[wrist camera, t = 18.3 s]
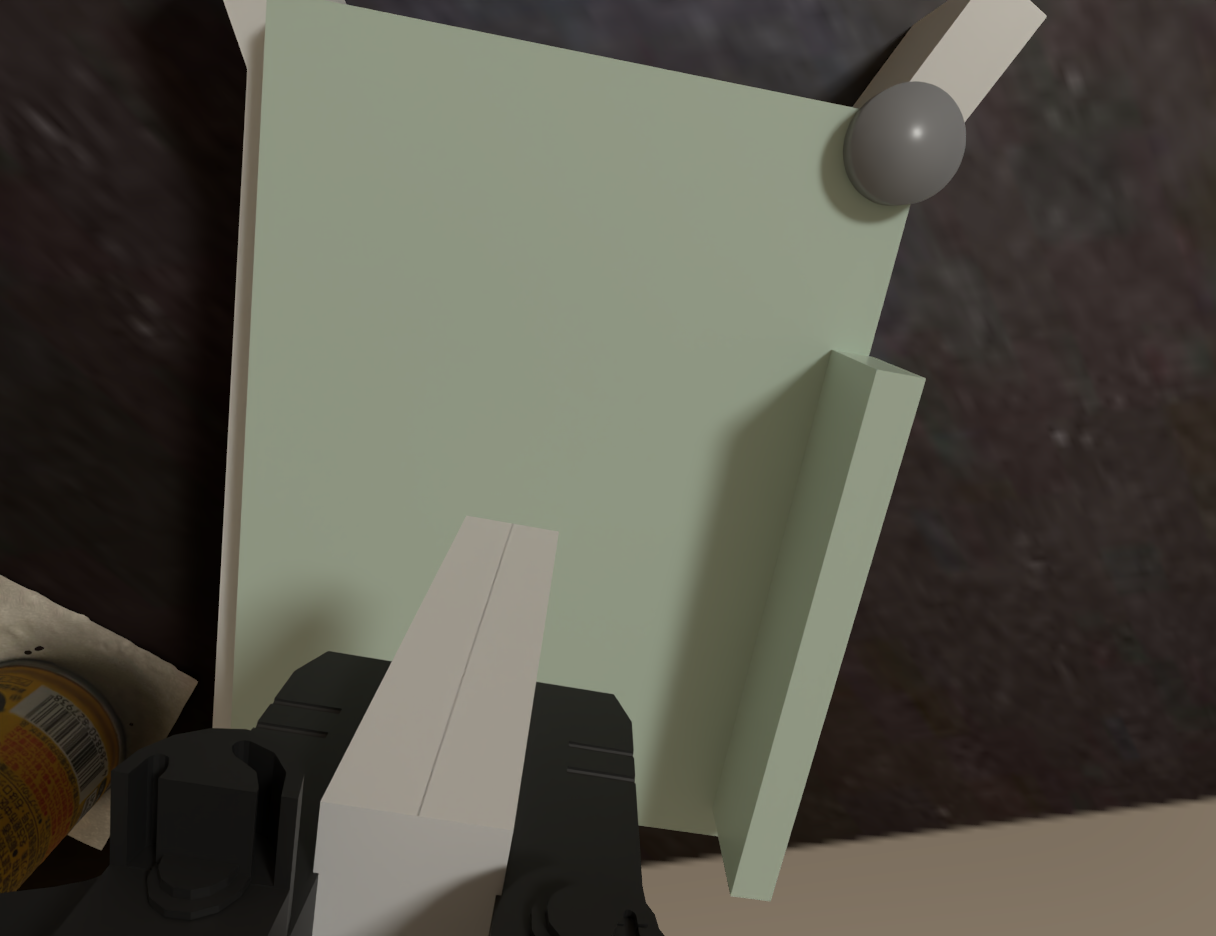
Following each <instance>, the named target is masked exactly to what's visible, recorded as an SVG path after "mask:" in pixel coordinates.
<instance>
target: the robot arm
mask: <svg viewBox="0 0 1216 936" xmlns="http://www.w3.org/2000/svg"><path fill="white" fill-rule="evenodd" d="M558 535H559V531H553V530H547V529H541V528H536V527H530V526H524V525H518V524H513V523H507V522H501V521H495V520H490V519H484V518H478V517H472V516H467V515H466V517H465V519H464V521H463V523H462V525H461V527H460V529H459V531H458V533H457V535H456V537H455V539H454V541H453V543H452V545H451V547H450V549H449V551H448V553H447V554H446V556H445V558H444V560H443V562H442V564H441V566H440V568H439V570H438V572H437V574H436V576H435V578H434V580H433V582H432V584H431V586H430V588H429V590H428V592H427V594H426V596H425V598H424V600H423V602H422V603H421V605H420V607H419V609H418V611H417V613H416V615H415V617H414V619H413V621H412V623H411V625H410V627H409V629H408V631H407V633H406V635H405V637H404V639H403V641H402V643H401V645H400V647H399V649H398V650H397V652H396V654H395V656H394V658H393V660H392V661H387V660H381V659H375V658H369V657H363V656H356V655H350V654H344V653H338V652H332V651H327V652H325V653H324V654H322V655H320V656H319V657H317V658H315V659H314V660H312V661H310V662H309V663H307V664H305V665H303V666H302V667H300V668H298V669H297V670H295V671H294V672H293V673H292V675H291V676H290V678H289V679H288V680H287V682H286V683H285V684H284V686H283V687H282V688H281V690H280V691H279V693H278V694H277V695H276V697H275V698H274V702H273V704H270V705H269V706H268V708H267V709H266V710H265V712H264V713H263V714H262V716H261V717H260V719H259V720H258V722H257V726H256V728H254V727H253V728H252V730H248V729H226V728H209V729H203V730H198V731H192V732H187V733H182V734H176V735H172V736H170V737H168V738H165V739H163V740H161V741H158V742H156V743H153V744H151V745H149V746H146V747H144V748H141V749H139V750H138V751H136V752H135V753H134V754H132V755H131V756H130V757H128V758H127V759H126V760H124V761H123V762H122V763H121V764H119V765H118V766H117V767H115V768H114V769H113V770H111V798H110V865H109V866H108V867H107V869H106V870H105V871H104V872H103V874H102V875H101V876H99V877H96V878H93V879H90V880H87V881H82V882H77V883H72V884H66V885H61V886H56V887H49V888H40V889H31V890H23V891H14V892H5V893H0V936H664V935H663V933H662V932H661V931H660V930H659V928H658V924H657V921H656V918H655V914H654V913H653V912H652V910H651V909H650V908H649V906H648V905H647V904H646V902H645V897H644V892H643V887H642V875H641V858H640V842H639V826H638V811H637V795H636V783H635V763H634V757H633V753H634V748H633V732H632V721H631V720H630V718H629V717H628V715H627V714H626V712H625V711H624V709H623V707H622V706H621V704H620V703H619V701H618V700H617V698H616V697H615V695H614V694H609V693H603V692H597V691H591V690H585V689H578V688H572V687H566V686H560V685H554V684H548V683H541V682H536V679H537V673H538V666H539V660H540V653H541V647H542V640H543V633H544V627H545V620H546V614H547V607H548V601H549V594H550V587H551V581H552V574H553V568H554V561H555V555H556V548H557V542H558Z"/></svg>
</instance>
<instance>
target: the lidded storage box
mask: <svg viewBox="0 0 1216 936" xmlns="http://www.w3.org/2000/svg"><path fill="white" fill-rule="evenodd" d="M223 1H224V4H225V7H226V10H227V13H228V16H229V18H230V21H231V24H232V27H233V30H234V33H235V36H236V38H237V41H238V44H239V47H240V50H241V53H242V56H243V58H244V61H245V64H246V67H247V85H246V104H245V123H244V142H243V161H242V180H241V199H240V217H239V236H238V255H237V274H236V293H235V312H234V331H233V350H232V369H231V388H230V407H229V426H228V444H227V463H226V482H225V501H224V520H223V539H222V558H221V577H220V596H219V615H218V634H217V653H216V672H215V690H214V709H213V728H226V729H231V711H232V691H233V671H234V650H235V630H236V610H237V590H238V569H239V549H240V529H241V509H242V488H243V468H244V448H245V428H246V407H247V387H248V367H249V347H250V326H251V306H252V286H253V266H254V245H255V225H256V205H257V185H258V164H259V144H260V124H261V104H262V83H263V63H264V43H265V23H266V2H267V0H223ZM326 1H331V2H336V3H341V4H346V2H345V0H326ZM1046 17H1047V16H1046V15H1045V14H1044V13H1043V12H1042V11H1041V10H1040V9H1039V8H1038V7H1036V6H1035V5H1034V4H1033V3H1032V2H1031V1H1030V0H948V1H947V2H945V3H944V4H942V5H941V6H940V7H938V8H937V9H935V10H934V11H932V12H931V13H929V14H928V15H927V16H925V17H924V18H922V19H921V20H919V21H918V22H917V23H915V24H914V25H913V26H912V27H911V28H910V30H909V31H908V32H907V34H906V35H905V36H904V38H903V39H902V40H901V42H900V43H899V44H898V46H897V47H896V49H895V50H894V51H893V53H892V54H891V55H890V57H889V58H888V59H887V61H886V62H885V63H884V65H883V66H882V68H881V69H880V70H879V72H878V73H877V74H876V76H875V77H874V78H873V80H872V81H871V82H870V84H869V85H868V86H867V88H866V89H865V91H864V92H863V93H862V95H861V96H860V97H859V99H858V100H857V101H856V103H855V104H854V105H853V108H858V109H860V108H861V107H862V106H863V105H864V104H865V103H866V102H867V101H868V100H869V99H871V98H872V97H874V96H875V95H877V94H879V93H880V92H882V91H884V90H886V89H888V88H890V87H892V86H894V85H897V84H900V83H905V82H914V81H919V82H926V83H929V84H933V85H935V86H937V87H939V88H941V89H942V90H944V91H945V92H946V93H948V94H949V95H950V96H951V97H952V98H953V100H954V101H955V102H956V104H957V105H958V107H959V109H960V111H961V113H962V115H963V119H964V122H965V121H966V120H967V118H968V117H969V116H970V115H971V113H972V112H973V111H974V110H975V108H976V107H977V106H978V104H979V103H980V102H981V101H982V99H983V98H984V97H985V95H986V94H987V93H988V92H989V90H990V89H991V88H992V86H993V85H994V84H995V83H996V81H997V80H998V79H999V77H1000V76H1001V75H1002V74H1003V72H1004V71H1005V70H1006V68H1007V67H1008V66H1009V65H1010V63H1011V62H1012V61H1013V59H1014V58H1015V57H1016V56H1017V54H1018V53H1019V52H1020V50H1021V49H1022V48H1023V47H1024V45H1025V44H1026V43H1027V41H1028V40H1029V39H1030V38H1031V36H1032V35H1033V34H1034V32H1035V31H1036V30H1037V29H1038V27H1039V26H1040V25H1041V23H1042V22H1043V21H1044V20H1045V18H1046Z"/></svg>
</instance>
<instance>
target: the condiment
mask: <svg viewBox="0 0 1216 936" xmlns="http://www.w3.org/2000/svg"><path fill="white" fill-rule="evenodd" d="M37 646H42V647H44V649H43V650H41V651H35V650H34V648H35V647H37ZM27 650H30V651H32V654H31V655H26V654H25V653H24V652H25V651H27ZM197 683H198V681H197V680H195V679H193V678H192V677H190V676H188V675H187V674H185V673H183V672H181V671H179V670H177V669H176V667H175V666H173V665H172V664H170V663H168V662H166V661H164V660H162V659H160V658H159V657H157V656H155V655H153V654H151V653H150V652H148V651H146V650H144V649H141V648H139V647H137V646H136V645H135V644H133V643H132V642H131V641H129V640H127V639H125V638H123V637H121V636H119V635H117V634H115V633H113V632H111V631H110V630H107V629H105V628H103V627H102V626H100V625H97V624H95V623H94V622H92V621H90V620H89V618H88V617H86V616H85V615H82V614H77V613H75V612H73V611H70V610H68V609H66V608H64V607H61V606H60V605H58V604H56V603H54V602H52V601H50V600H49V599H47V598H46V597H44V596H42V595H40V594H39V593H37V592H35V591H32V590H29V589H27V588H25V587H23V586H21V585H19V584H17V583H15V582H13V581H11V580H9V579H7V578H5V577H3V576H1V575H0V893H5V892H14V891H17V889H19V888H20V886H21V885H22V884H23V883H24V882H25V880H26V879H27V878H28V877H29V876H30V875H31V874H32V873H33V872H34V871H35V869H36V868H37V867H38V866H39V865H40V864H41V863H42V862H43V861H44V860H45V859H46V857H48V855H49V854H50V853H51V852H52V850H53V849H54V848H55V847H56V846H57V845H58V844H59V843H60V842H61V841H62V839H63V838H64V837H65V836H66V835H69V836H71V837H73V838H75V839H77V840H79V841H81V842H83V843H85V844H87V845H89V846H92V847H94V848H97V849H99V850H102V849H103V847H104V845H105V843H106V842H107V840H108V838H109V837H110V798H111V770H113V769H114V768H115V767H117V766H118V765H119V764H121V763H122V762H123V761H124V760H126V759H127V758H128V757H130V756H131V755H132V754H134V753H135V752H136V751H138V750H139V749H141V748H144V747H146V746H149V745H151V744H153V743H156V742H158V741H161V740H163V739H165V738H167V736H168V734H169V732H170V731H171V729H172V727H173V726H174V724H175V723H176V721H177V719H178V717H179V715H180V713H181V711H182V709H183V707H184V705H185V704H186V702H187V700H188V699H189V697H190V695H191V694H192V692H193V690H194V688H195V687H196V685H197ZM130 723H133V726H130V725H129V724H130Z"/></svg>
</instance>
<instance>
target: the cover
mask: <svg viewBox="0 0 1216 936" xmlns="http://www.w3.org/2000/svg"><path fill="white" fill-rule="evenodd" d="M965 144H966V129H965V122H964V119H963V115H962V113H961V111H960V109H959V107H958V105H957V104H956V102H955V101H954V100H953V98H952V97H951V96H950V95H949V94H948V93H946V92H945V91H944V90H942V89H941V88H939V87H937V86H935V85H933V84H929V83H926V82H919V81H914V82H905V83H900V84H897V85H894V86H892V87H890V88H888V89H886V90H884V91H882V92H880V93H879V94H877V95H875V96H874V97H872V98H871V99H869V100H868V101H867V102H866V103H865V104H864V105H863V106H862V107H861V108H860V109H858V108H853V107H848V106H843V105H838V104H833V103H828V102H823V101H818V100H813V99H808V98H804V97H799V96H794V95H789V94H784V93H779V92H774V91H769V90H764V89H759V88H754V87H749V86H744V85H740V84H735V83H730V82H725V81H720V80H715V79H710V78H705V77H700V76H695V75H690V74H685V73H680V72H676V71H671V70H666V69H661V68H656V67H651V66H646V65H641V64H636V63H631V62H626V61H621V60H616V59H612V58H607V57H602V56H597V55H592V54H587V53H582V52H577V51H572V50H567V49H562V48H557V47H552V46H547V45H543V44H538V43H533V42H528V41H523V40H518V39H513V38H508V37H503V36H498V35H493V34H488V33H483V32H479V31H474V30H469V29H464V28H459V27H454V26H449V25H444V24H439V23H434V22H429V21H424V20H419V19H415V18H410V17H405V16H400V15H395V14H390V13H385V12H380V11H375V10H370V9H365V8H360V7H355V6H351V5H346V4H341V3H336V2H331V1H326V0H267V2H266V23H265V43H264V63H263V83H262V104H261V124H260V144H259V164H258V185H257V205H256V225H255V245H254V266H253V286H252V306H251V326H250V347H249V367H248V387H247V407H246V428H245V448H244V468H243V488H242V509H241V529H240V549H239V569H238V590H237V610H236V630H235V650H234V671H233V691H232V711H231V729H248V730H252V728H253V727H254V728H256V726H257V722H258V720H259V719H260V717H261V716H262V714H263V713H264V712H265V710H266V709H267V708H268V706H269V705H270V704H273V702H274V698H275V697H276V695H277V694H278V693H279V691H280V690H281V688H282V687H283V686H284V684H285V683H286V682H287V680H288V679H289V678H290V676H291V675H292V673H293V672H294V671H295V670H297V669H298V668H300V667H302V666H303V665H305V664H307V663H309V662H310V661H312V660H314V659H315V658H317V657H319V656H320V655H322V654H324V653H325V652H327V651H332V652H338V653H344V654H350V655H356V656H363V657H369V658H375V659H381V660H387V661H392V660H393V658H394V656H395V654H396V652H397V650H398V649H399V647H400V645H401V643H402V641H403V639H404V637H405V635H406V633H407V631H408V629H409V627H410V625H411V623H412V621H413V619H414V617H415V615H416V613H417V611H418V609H419V607H420V605H421V603H422V602H423V600H424V598H425V596H426V594H427V592H428V590H429V588H430V586H431V584H432V582H433V580H434V578H435V576H436V574H437V572H438V570H439V568H440V566H441V564H442V562H443V560H444V558H445V556H446V554H447V553H448V551H449V549H450V547H451V545H452V543H453V541H454V539H455V537H456V535H457V533H458V531H459V529H460V527H461V525H462V523H463V521H464V519H465V517H466V515H467V516H472V517H478V518H484V519H490V520H495V521H501V522H507V523H513V524H518V525H524V526H530V527H536V528H541V529H547V530H553V531H559V535H558V542H557V548H556V555H555V561H554V568H553V574H552V581H551V587H550V594H549V601H548V607H547V614H546V620H545V627H544V633H543V640H542V647H541V653H540V660H539V666H538V673H537V679H536V682H541V683H548V684H554V685H560V686H566V687H572V688H578V689H585V690H591V691H597V692H603V693H609V694H614V695H615V697H616V698H617V700H618V701H619V703H620V704H621V706H622V707H623V709H624V711H625V712H626V714H627V715H628V717H629V718H630V720H631V721H632V732H633V748H634V753H633V757H634V763H635V783H636V795H637V811H638V825H641V826H648V827H655V828H662V829H670V830H677V831H684V832H691V833H698V834H706V835H713V836H718V838H719V843H720V848H721V852H722V857H723V862H724V867H725V872H726V877H727V882H728V886H729V891H730V896H735V897H742V898H750V899H757V900H765V901H771V898H772V895H773V891H774V888H775V885H776V881H777V878H778V874H779V871H780V868H781V864H782V861H783V858H784V854H785V851H786V848H787V844H788V841H789V837H790V834H791V831H792V827H793V824H794V821H795V817H796V814H797V811H798V807H799V804H800V800H801V797H802V794H803V790H804V787H805V784H806V780H807V777H808V774H809V770H810V767H811V763H812V760H813V757H814V753H815V750H816V747H817V743H818V740H819V737H820V733H821V730H822V726H823V723H824V720H825V716H826V713H827V710H828V706H829V703H830V699H831V696H832V693H833V689H834V686H835V683H836V679H837V676H838V673H839V669H840V666H841V662H842V659H843V656H844V652H845V649H846V646H847V642H848V639H849V636H850V632H851V629H852V625H853V622H854V619H855V615H856V612H857V609H858V605H859V602H860V599H861V595H862V592H863V588H864V585H865V582H866V578H867V575H868V572H869V568H870V565H871V561H872V558H873V555H874V551H875V548H876V545H877V541H878V538H879V535H880V531H881V528H882V524H883V521H884V518H885V514H886V511H887V508H888V504H889V501H890V498H891V494H892V491H893V487H894V484H895V481H896V477H897V474H898V471H899V467H900V464H901V461H902V457H903V454H904V450H905V447H906V444H907V440H908V437H909V434H910V430H911V427H912V423H913V420H914V417H915V413H916V410H917V407H918V403H919V400H920V397H921V393H922V390H923V386H924V383H925V380H926V378H924V377H921V376H919V375H916V374H914V373H911V372H909V371H906V370H904V369H901V368H899V367H896V366H894V365H891V364H889V363H886V362H884V361H881V360H879V359H876V358H874V357H870V356H869V354H870V350H871V346H872V343H873V339H874V335H875V332H876V328H877V324H878V321H879V317H880V313H881V310H882V306H883V302H884V299H885V295H886V292H887V288H888V284H889V281H890V277H891V273H892V270H893V266H894V262H895V259H896V255H897V251H898V248H899V244H900V240H901V237H902V233H903V229H904V226H905V222H906V219H907V215H908V211H909V208H910V204H913V203H917V202H921V201H923V200H926V199H928V198H930V197H931V196H933V195H935V194H936V193H938V192H939V191H940V190H941V189H943V188H944V187H945V186H946V185H947V184H948V182H949V181H950V180H951V179H952V177H953V176H954V174H955V173H956V171H957V169H958V167H959V165H960V163H961V161H962V158H963V155H964V150H965Z"/></svg>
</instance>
